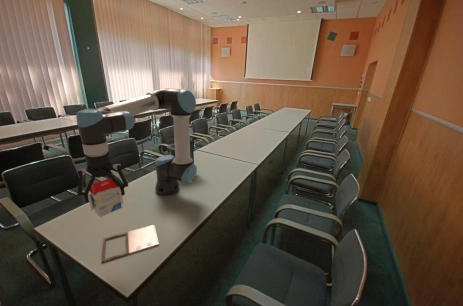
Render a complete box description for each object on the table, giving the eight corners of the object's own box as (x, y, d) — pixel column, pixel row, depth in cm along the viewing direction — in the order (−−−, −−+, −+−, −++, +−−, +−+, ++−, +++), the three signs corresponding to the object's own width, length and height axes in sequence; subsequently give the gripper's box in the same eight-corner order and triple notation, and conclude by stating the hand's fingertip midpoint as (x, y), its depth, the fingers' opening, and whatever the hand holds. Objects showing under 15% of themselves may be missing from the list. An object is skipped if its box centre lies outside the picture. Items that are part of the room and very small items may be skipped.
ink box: (116, 203, 88) (111, 172, 83) (122, 208, 85) (116, 176, 80) (94, 212, 82) (87, 179, 77) (99, 217, 79) (91, 184, 74)
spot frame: (128, 232, 98) (127, 231, 98) (129, 254, 86) (129, 253, 86) (103, 239, 93) (103, 238, 93) (101, 262, 82) (101, 261, 82)
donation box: (194, 171, 164) (193, 137, 155) (177, 177, 153) (175, 141, 143) (182, 165, 174) (181, 133, 165) (165, 170, 163) (163, 136, 153)
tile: (154, 225, 103) (154, 224, 103) (159, 244, 92) (158, 243, 91) (128, 232, 98) (127, 231, 98) (129, 254, 86) (129, 252, 86)
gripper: (130, 146, 83) (136, 194, 91) (61, 153, 73) (75, 206, 81) (131, 152, 76) (138, 203, 84) (56, 161, 67) (72, 218, 74)
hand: (107, 205), depth 82 cm, fingers closed on ink box, 9 cm apart
